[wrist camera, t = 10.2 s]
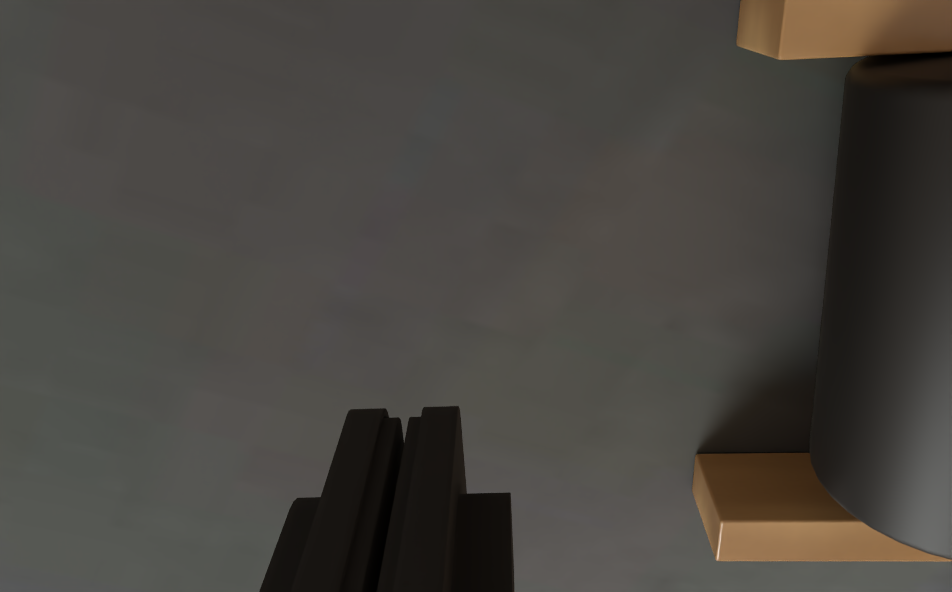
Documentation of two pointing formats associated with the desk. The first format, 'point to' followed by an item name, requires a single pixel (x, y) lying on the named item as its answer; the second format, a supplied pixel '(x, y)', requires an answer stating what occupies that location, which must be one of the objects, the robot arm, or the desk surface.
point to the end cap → (890, 305)
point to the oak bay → (791, 474)
